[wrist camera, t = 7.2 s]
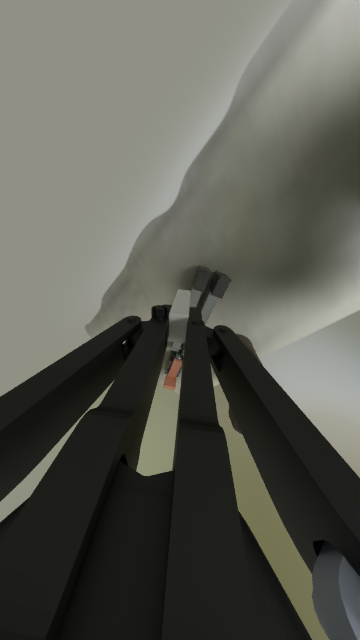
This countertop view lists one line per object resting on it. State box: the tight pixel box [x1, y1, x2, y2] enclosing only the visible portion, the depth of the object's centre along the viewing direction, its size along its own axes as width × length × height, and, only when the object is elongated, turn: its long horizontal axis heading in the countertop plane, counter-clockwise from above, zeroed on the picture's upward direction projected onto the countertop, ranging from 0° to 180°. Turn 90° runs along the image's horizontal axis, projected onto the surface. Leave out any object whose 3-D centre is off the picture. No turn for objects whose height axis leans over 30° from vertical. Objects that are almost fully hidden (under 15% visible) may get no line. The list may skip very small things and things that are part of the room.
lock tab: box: [163, 358, 182, 390], centre depth 38 cm, size 8×3×4 cm, turn 162°
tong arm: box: [171, 266, 212, 352], centre depth 33 cm, size 23×2×5 cm, turn 163°
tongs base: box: [165, 271, 231, 377], centre depth 35 cm, size 32×5×6 cm, turn 162°
